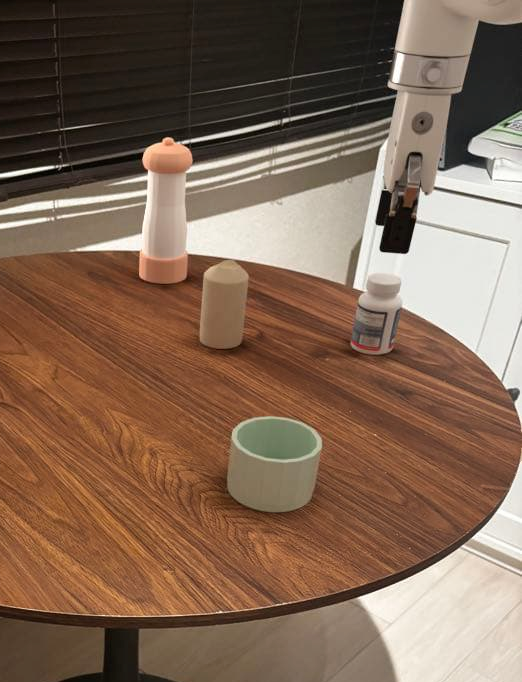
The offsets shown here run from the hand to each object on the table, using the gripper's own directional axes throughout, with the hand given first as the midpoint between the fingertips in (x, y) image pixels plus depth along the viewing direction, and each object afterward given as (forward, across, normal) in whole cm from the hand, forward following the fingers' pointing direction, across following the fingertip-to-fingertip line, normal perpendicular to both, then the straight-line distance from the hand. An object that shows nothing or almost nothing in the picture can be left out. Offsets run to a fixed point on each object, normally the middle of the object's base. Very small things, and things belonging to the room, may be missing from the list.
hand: (390, 238), depth 95 cm
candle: (+14, -2, +18) cm, 23 cm away
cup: (+13, -35, +10) cm, 39 cm away
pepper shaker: (+14, +20, +30) cm, 38 cm away
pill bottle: (+14, 0, 0) cm, 14 cm away
